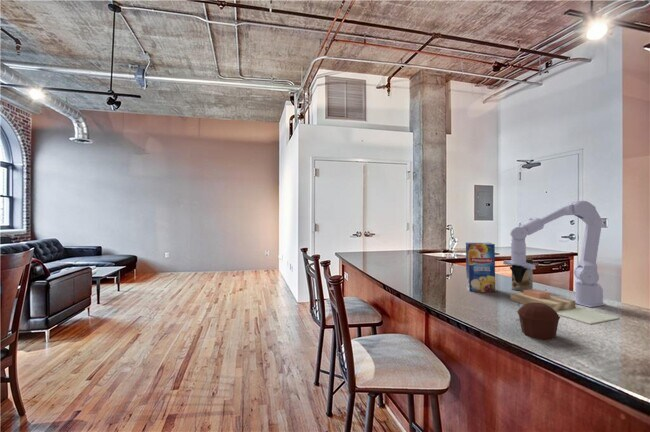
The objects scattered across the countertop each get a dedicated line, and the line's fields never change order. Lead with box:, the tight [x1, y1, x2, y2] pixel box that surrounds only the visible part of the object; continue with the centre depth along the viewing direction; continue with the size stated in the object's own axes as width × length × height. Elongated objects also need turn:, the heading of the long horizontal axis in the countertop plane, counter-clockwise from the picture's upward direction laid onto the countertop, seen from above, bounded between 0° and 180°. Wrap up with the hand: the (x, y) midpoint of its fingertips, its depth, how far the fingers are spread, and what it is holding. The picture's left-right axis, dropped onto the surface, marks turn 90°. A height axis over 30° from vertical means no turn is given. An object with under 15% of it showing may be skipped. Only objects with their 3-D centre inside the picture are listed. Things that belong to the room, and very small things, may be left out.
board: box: [510, 291, 577, 311], centre depth 131 cm, size 14×18×3 cm
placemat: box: [556, 307, 620, 325], centre depth 116 cm, size 16×13×1 cm
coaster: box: [522, 288, 552, 299], centre depth 133 cm, size 7×7×2 cm
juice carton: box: [465, 242, 496, 293], centre depth 156 cm, size 12×8×24 cm, turn 76°
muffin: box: [516, 302, 561, 341], centre depth 99 cm, size 12×11×10 cm
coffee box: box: [511, 257, 534, 292], centre depth 156 cm, size 9×6×16 cm
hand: (518, 282), depth 141 cm, fingers closed
